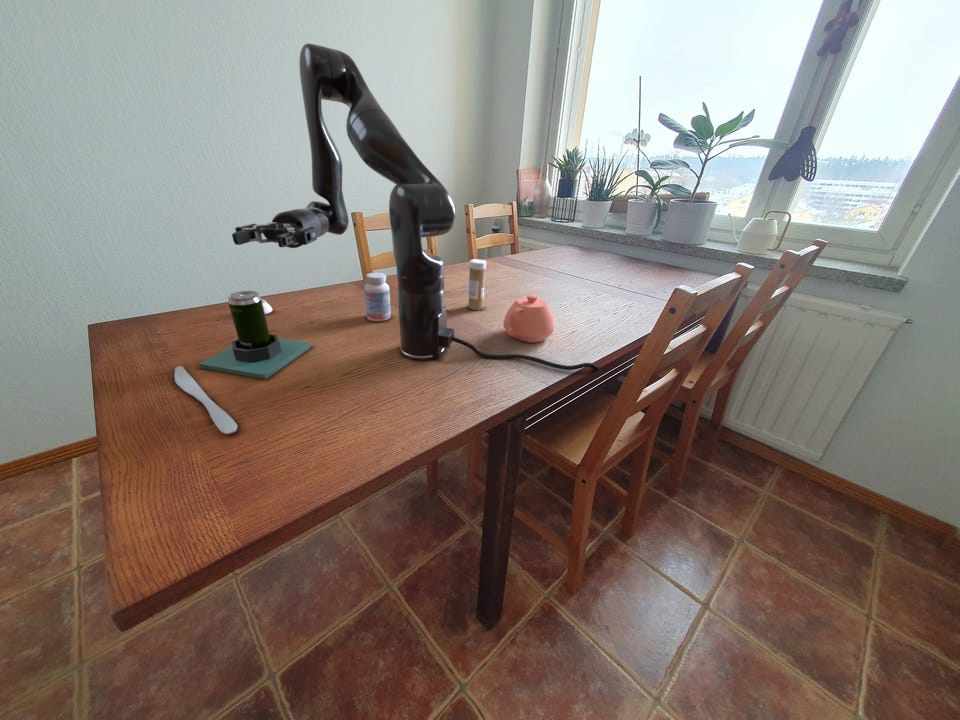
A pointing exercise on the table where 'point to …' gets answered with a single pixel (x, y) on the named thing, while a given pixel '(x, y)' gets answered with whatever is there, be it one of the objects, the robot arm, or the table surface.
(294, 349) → the dock
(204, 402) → the butter knife
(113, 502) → the table surface
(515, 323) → the sugar bowl
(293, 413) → the table surface
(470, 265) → the sprinkles bottle
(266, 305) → the white truncated cone
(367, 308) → the pill bottle
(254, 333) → the beer can
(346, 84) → the robot arm
